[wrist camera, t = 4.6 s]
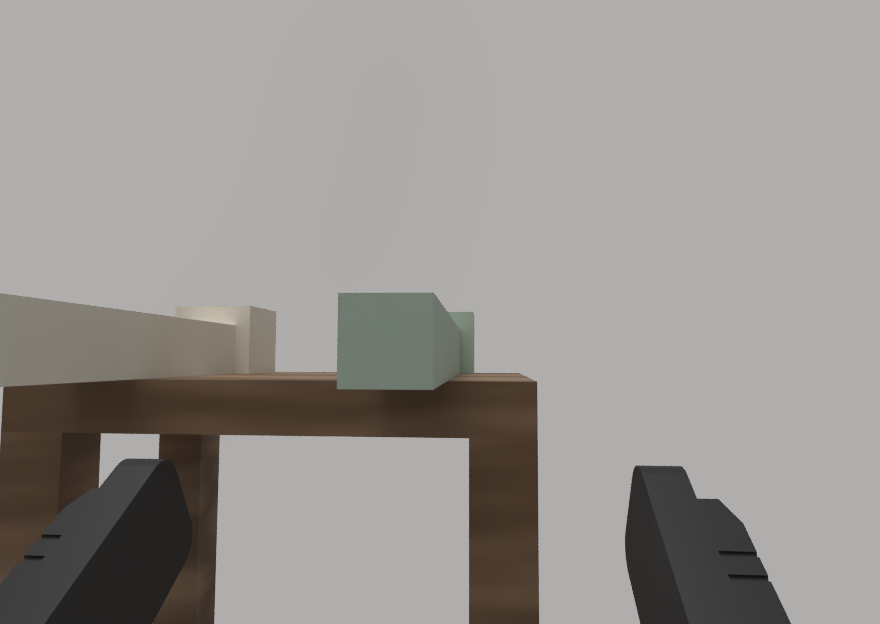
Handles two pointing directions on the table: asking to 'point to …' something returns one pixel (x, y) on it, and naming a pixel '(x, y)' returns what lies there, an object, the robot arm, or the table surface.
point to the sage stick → (401, 341)
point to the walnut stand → (283, 414)
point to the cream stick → (129, 342)
